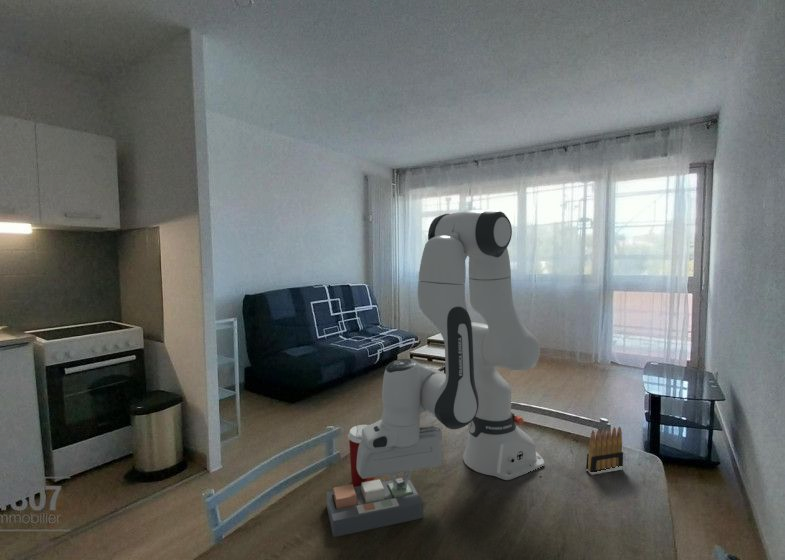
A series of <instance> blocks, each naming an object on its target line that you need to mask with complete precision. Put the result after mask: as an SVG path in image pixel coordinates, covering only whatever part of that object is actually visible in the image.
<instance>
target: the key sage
mask: <svg viewBox="0 0 785 560" xmlns="http://www.w3.org/2000/svg"><path fill="white" fill-rule="evenodd" d="M388 489H389V491H390V493H391V495H392V497H393V498H396V497H401V496H406V495H411V494H412V491H411V489H410V487H409V485H408V484H407V488H404V489H399V490H394V488H393V483H390V484H388Z"/></svg>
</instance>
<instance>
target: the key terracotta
mask: <svg viewBox="0 0 785 560" xmlns="http://www.w3.org/2000/svg"><path fill="white" fill-rule="evenodd" d="M332 491H333V498H334V502H335V506H336V509H339V508H344V507H349V506H354V505H357V496H356V493H355V490H354V487H353V484H352V483H351V484H347V485H340V486H334V487H333V490H332Z"/></svg>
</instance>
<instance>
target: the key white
mask: <svg viewBox="0 0 785 560" xmlns="http://www.w3.org/2000/svg"><path fill="white" fill-rule="evenodd" d="M381 482H382V481H381V479H374V480H373V481H368V482H362V483H361V493H362V495H363V498H364V501H365V503H370V502H375V501H380V500H385V490H384V487H383V485H382V483H381Z"/></svg>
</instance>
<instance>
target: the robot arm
mask: <svg viewBox="0 0 785 560" xmlns="http://www.w3.org/2000/svg"><path fill="white" fill-rule="evenodd" d="M512 235H513V228H512V223H511V221H510V219H509V218H508V216H507V215H506V214H505V213H504V212H503V211H500V210H496V209H484V210H481V209H480V210H479V209H471V210H463V211H458V212H453V213H444V214H440V215H439V216H437V217H435V218H434V219H433V220H432V221H431V223H430V225H429V227H428V233H427V239H428V240H427V241H426V243H425V245H424V247H423V251H422V256H421V258H420V259H421V260H420V264H419V271H418V282H417V300H418V306H419V309H420V310H421V312H422V314H424V316H425V317H426V318H427V319H428V320H429V321H430V322H431V323H432V324H433V325H434V326H435V327H436V328H437V330H438V332H439V333H440V335H441V337H442V340H443V343H444V358H445V359H444V360H445V361H444V362H445V372H443V371H441V370H439V369H437V368H433V367H427V366H425V365H422V364H421V363H419V362H417V360H415V359H413V358H399V359H396V360H392V361H391V362H389V363H388V364H387V366H386V367H385V370H384V374H383V379H382V389H381V391H382V392H381V394H382V395H381V400H382V404H383V405H382V406H383V410H382V411H383V412H382V414H381V419H379V420H377V421H376V422H373V423H371V424H368V425H369V426H366V427H364V428H363V429H362V437H363V440H362V441H361V442H360V444H359V447H358V453H357V464H356V466H357V471H358V474H359V475H360V477H361V478H363V479H365V478H371V477H374V478H376V477H382V476H387V475H389V477H390V479H391V480H393V488H394V490H399V489H404V488H407V481H408V480H410V478H411V476H412V475H413V471H417V470H422V469H428V468H433V467H439V466H440V465H441V464H442V462H443V450H442V444H441V443H442V442H441V441H442V438H443V433H442V429H441V427H437V425H431V426H422V427H421V414H422V413H425V412H428V413H429V414H430V415H432V416H433V417H435V418H436V419H437V420H438V422H440V423H441V424H442V426H444V427H446V428H447V429H449V430H459V429H462V428H465V427H466V426H467V427H468V428H467V430H468V435H467V441H466V447H465V450H464V452H463V456H462V460H463V462H464V464H465V465H466V466H467V467H469V469H472V470H473V471H475V472H477V473H479V474H483V475H487V476H493V477H496V478H499V479H501V480H504V481H510V480H513V479H515V478H518V477H520V476H523V475H525V474H528V472H529V473H531V472H534V471H536V470H538V469H537V468H539V469H541V468H540V467H542V466H544V465H546V464H545V460H544V458H543V457H542V456H541V455H540V454H539V452H537V449H536V444H535V442H534V441H533V439H532V437H531V436H529V435H528V434H527V433H526V432H525V431H523V430H522V429H521V428H520V427H519V426H517V425H520V426H521V425H523V424H524V421H525V420H524V418H523V417H521V416H520V415H515V413H513V412H512V388H511V385H510V384H509V382H508V381H507V380H506V379H505V378H503V376H502V375H501V374H500V373H499V372H498V369H497V368H501V369H506V370H510V371H530V370H532V369H533V368H534V367H535V366H536V365H537V363H538V361H539V359H540V356H541V346H540V342H539V341H538V338H537V337H536V336H535V335H534V334H533V333H532V332H530V330H529V329H528V328H527V327H526V326H525V325H524V324H523V322H522V320H521V319H520V318H519V317H520V316H519V315H518V313H517V312H516V309H515V305H514V299H513V290H512V288H513V287H512V271H511V261H510V254H509V250H508V246H509V244H510V242H511V241H512ZM467 257H468V289H469V303H470V306H471V307H472V309H473V311H475V312H476V313H478V314H479V315H480V316H481V317H482V318H483V319H484V321H485V323H482V322H477V321H476V322H475V321H473V322H472V320H471V316H470V314H469V312H468V308H467V303H466V279H467V277H466V274H467V273H466V272H467V271H466V270H467V269H466V259H467ZM544 467H545V466H544ZM542 468H543V467H542ZM535 469H536V470H535ZM533 470H534V471H533ZM530 471H531V472H530ZM398 473H399V474H400V473H403V474H402V476H401V477H400V478H399V477H398ZM396 477H398V478H396Z"/></svg>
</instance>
